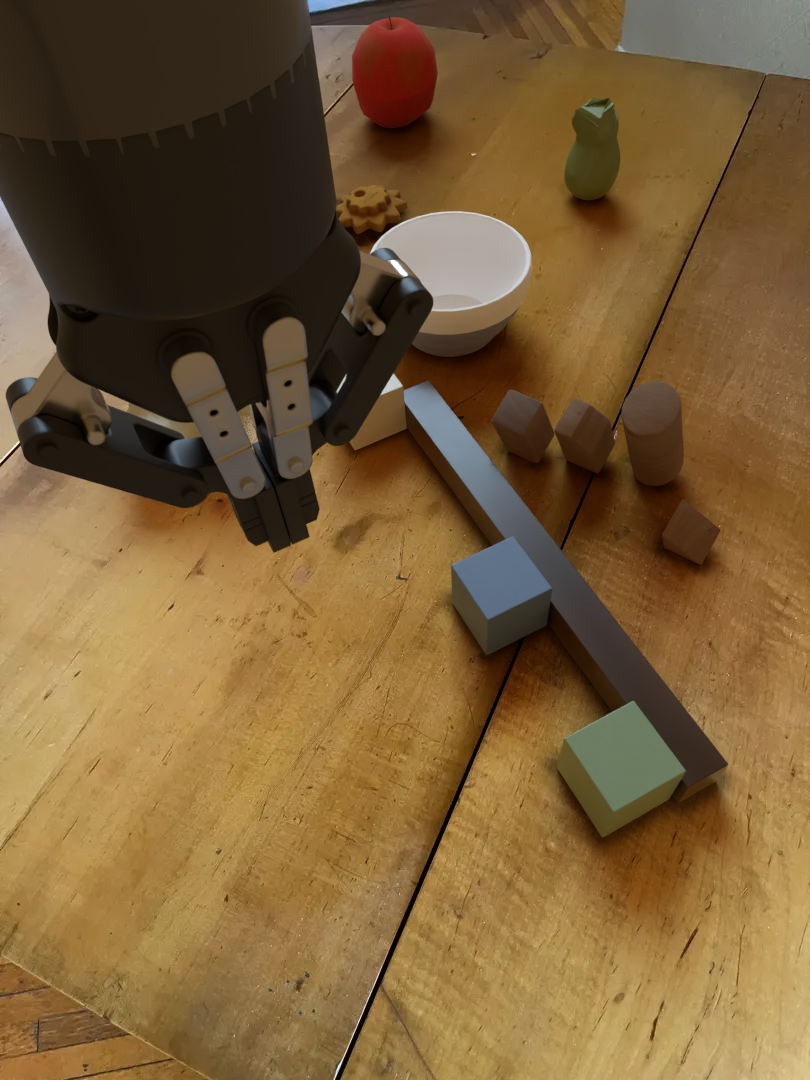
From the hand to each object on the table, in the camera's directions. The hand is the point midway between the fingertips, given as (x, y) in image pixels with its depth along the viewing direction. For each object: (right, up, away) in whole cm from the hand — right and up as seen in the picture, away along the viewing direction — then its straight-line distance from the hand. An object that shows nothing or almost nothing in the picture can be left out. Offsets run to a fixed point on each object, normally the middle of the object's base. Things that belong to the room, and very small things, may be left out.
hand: (283, 528), depth 31 cm
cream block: (+1, +10, +40) cm, 41 cm away
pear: (+24, +37, +58) cm, 72 cm away
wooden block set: (+21, +4, +35) cm, 41 cm away
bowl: (+9, +20, +47) cm, 51 cm away
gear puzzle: (-10, +32, +57) cm, 66 cm away
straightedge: (+14, -3, +30) cm, 33 cm away
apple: (+4, +51, +69) cm, 86 cm away
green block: (+18, -16, +21) cm, 31 cm away
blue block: (+11, -6, +28) cm, 31 cm away
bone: (-12, +10, +42) cm, 45 cm away
